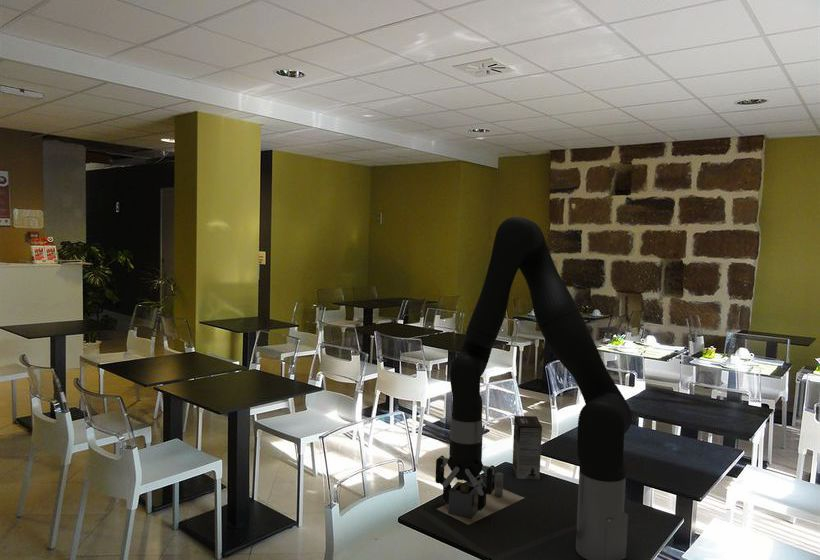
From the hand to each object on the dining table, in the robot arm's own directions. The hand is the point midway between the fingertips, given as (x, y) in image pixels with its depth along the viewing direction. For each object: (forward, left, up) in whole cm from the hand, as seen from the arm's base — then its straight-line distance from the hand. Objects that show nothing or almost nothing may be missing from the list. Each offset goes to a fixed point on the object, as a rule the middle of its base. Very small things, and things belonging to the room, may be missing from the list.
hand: (463, 505), depth 138 cm
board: (+1, -6, -3) cm, 7 cm away
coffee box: (+9, -29, -3) cm, 31 cm away
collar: (0, 0, -1) cm, 1 cm away
